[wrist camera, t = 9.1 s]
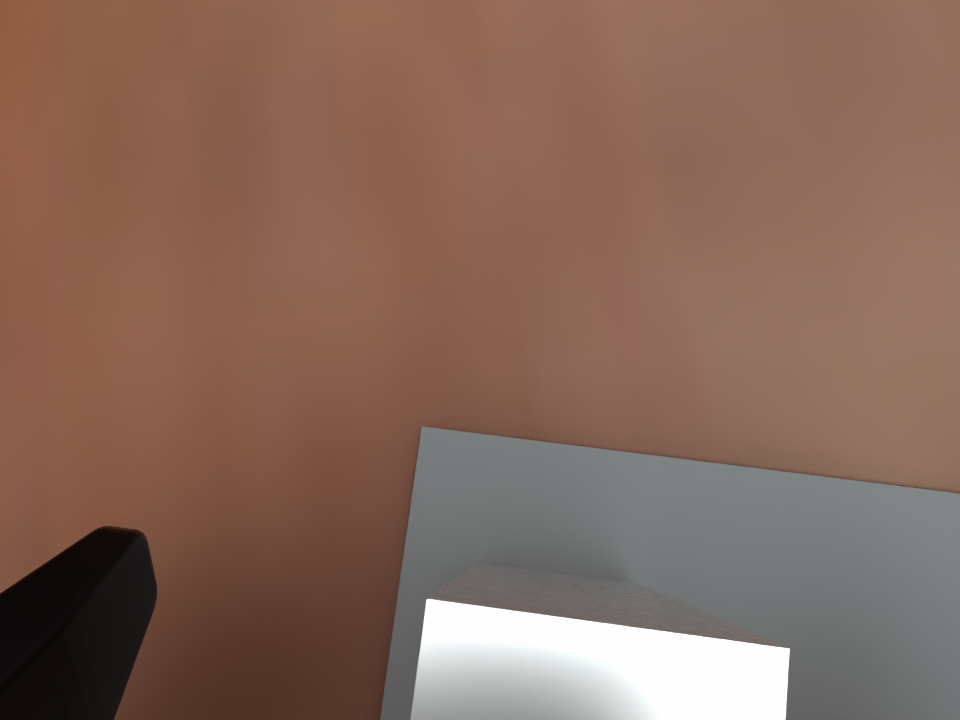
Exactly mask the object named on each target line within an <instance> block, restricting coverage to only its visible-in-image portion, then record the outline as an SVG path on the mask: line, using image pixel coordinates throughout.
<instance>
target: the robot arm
mask: <svg viewBox="0 0 960 720" xmlns="http://www.w3.org/2000/svg"><path fill="white" fill-rule="evenodd" d="M156 598H157V583H156V579H155V574H154V569H153V564H152V560H151V555H150V550H149V546H148V541H147V538H146V536H145V535H144V534H143V533H142V532H141V531H139V530H135V529H128V528H120V527H113V526H104V527H100V528H98V529H96V530H94V531H92V532H91V533H89V534H88V535H86V536H85V537H83V538H82V539H80V540H79V541H77V542H76V543H74V544H73V545H71V546H70V547H69V548H67V549H66V550H64V551H63V552H61V553H60V554H58V555H57V556H55V557H54V558H52V559H51V560H49V561H48V562H46V563H45V564H43V565H42V566H40V567H39V568H37V569H36V570H34V571H33V572H31V573H30V574H28V575H27V576H25V577H24V578H22V579H21V580H20V581H18V582H17V583H15V584H14V585H12V586H11V587H9V588H8V589H6V590H5V591H3V592H2V593H0V720H114V718H115V715H116V712H117V710H118V707H119V704H120V702H121V699H122V696H123V693H124V691H125V688H126V685H127V682H128V680H129V677H130V674H131V671H132V669H133V666H134V663H135V660H136V658H137V655H138V652H139V649H140V647H141V644H142V641H143V638H144V636H145V633H146V630H147V627H148V625H149V622H150V619H151V616H152V614H153V611H154V608H155V603H156Z"/></svg>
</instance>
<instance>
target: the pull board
mask: <svg viewBox="0 0 960 720" xmlns="http://www.w3.org/2000/svg"><path fill="white" fill-rule="evenodd" d="M380 720H960V494H959V493H951V492H943V491H935V490H927V489H919V488H911V487H903V486H895V485H887V484H879V483H871V482H863V481H855V480H847V479H839V478H831V477H823V476H815V475H807V474H799V473H791V472H783V471H775V470H767V469H759V468H751V467H743V466H735V465H727V464H719V463H711V462H703V461H695V460H687V459H679V458H671V457H663V456H655V455H647V454H639V453H631V452H623V451H615V450H607V449H599V448H591V447H583V446H575V445H567V444H559V443H551V442H543V441H535V440H527V439H519V438H511V437H503V436H495V435H487V434H479V433H471V432H463V431H455V430H447V429H439V428H431V427H423V426H422V429H421V436H420V443H419V450H418V457H417V464H416V471H415V478H414V485H413V492H412V499H411V506H410V513H409V520H408V527H407V534H406V541H405V548H404V555H403V562H402V569H401V576H400V583H399V590H398V597H397V604H396V611H395V618H394V625H393V632H392V639H391V646H390V653H389V660H388V667H387V674H386V681H385V688H384V696H383V703H382V710H381V717H380Z"/></svg>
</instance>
